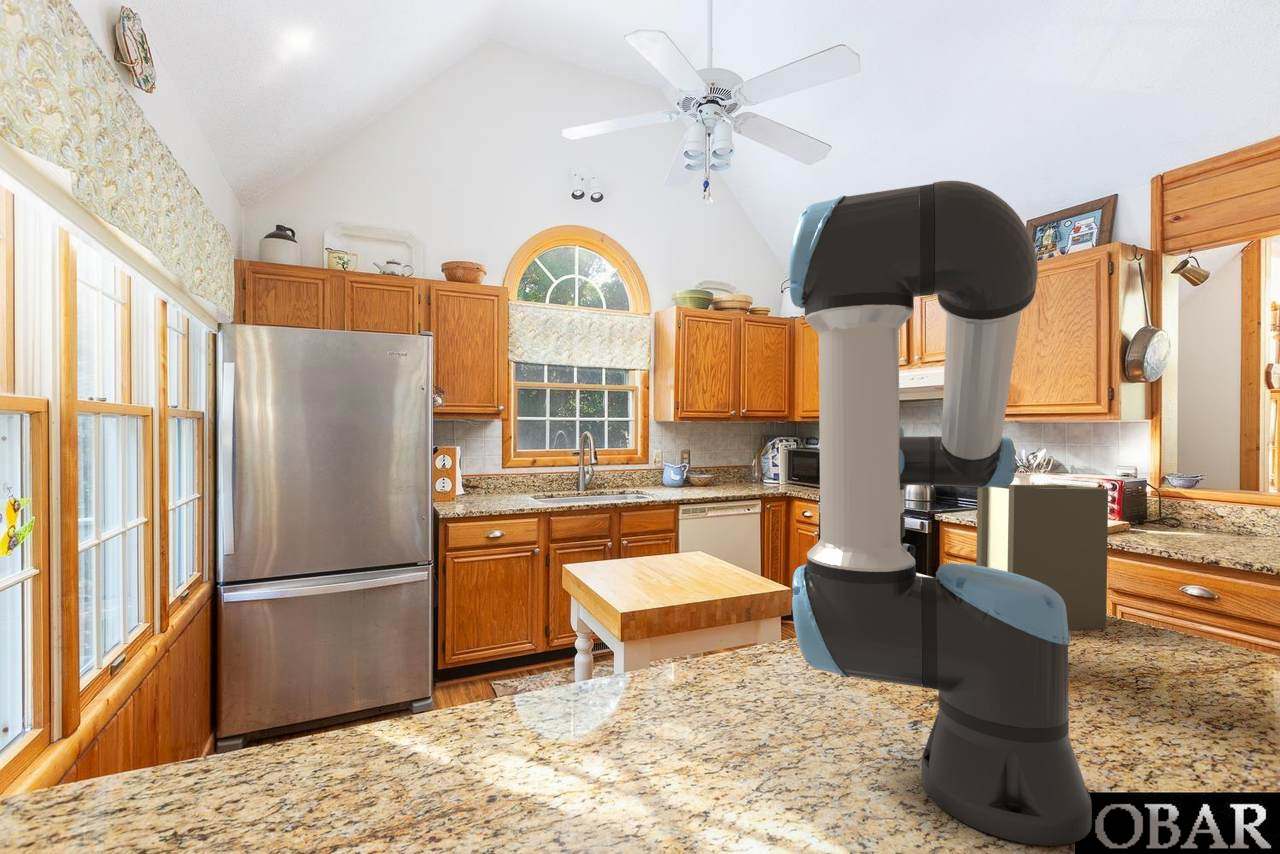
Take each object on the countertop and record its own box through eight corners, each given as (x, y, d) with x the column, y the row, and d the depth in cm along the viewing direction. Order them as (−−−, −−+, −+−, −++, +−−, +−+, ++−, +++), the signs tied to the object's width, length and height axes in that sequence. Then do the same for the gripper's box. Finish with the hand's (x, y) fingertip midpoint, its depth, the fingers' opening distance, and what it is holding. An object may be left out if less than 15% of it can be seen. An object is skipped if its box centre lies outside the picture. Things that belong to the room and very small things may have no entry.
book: (1067, 617, 125) (1069, 482, 125) (1109, 631, 115) (1111, 486, 116) (975, 620, 121) (977, 481, 121) (1011, 635, 112) (1014, 485, 112)
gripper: (850, 519, 97) (851, 662, 96) (942, 512, 104) (943, 644, 104) (819, 514, 103) (820, 646, 103) (907, 507, 111) (908, 631, 111)
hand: (882, 645), depth 104 cm, fingers closed on mug, 7 cm apart
